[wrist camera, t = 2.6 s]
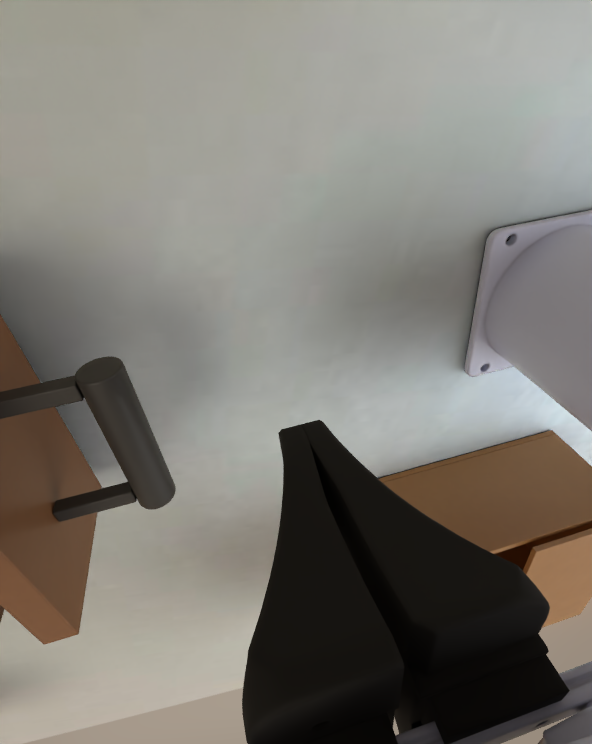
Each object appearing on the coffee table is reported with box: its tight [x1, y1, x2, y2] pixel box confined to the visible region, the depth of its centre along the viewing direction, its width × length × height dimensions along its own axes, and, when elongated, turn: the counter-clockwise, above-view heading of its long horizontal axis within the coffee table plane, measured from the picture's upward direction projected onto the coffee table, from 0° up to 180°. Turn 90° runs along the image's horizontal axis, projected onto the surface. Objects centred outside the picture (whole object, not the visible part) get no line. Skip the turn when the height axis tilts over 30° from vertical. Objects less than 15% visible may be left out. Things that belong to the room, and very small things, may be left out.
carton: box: [379, 430, 592, 627], centre depth 28 cm, size 14×12×7 cm
